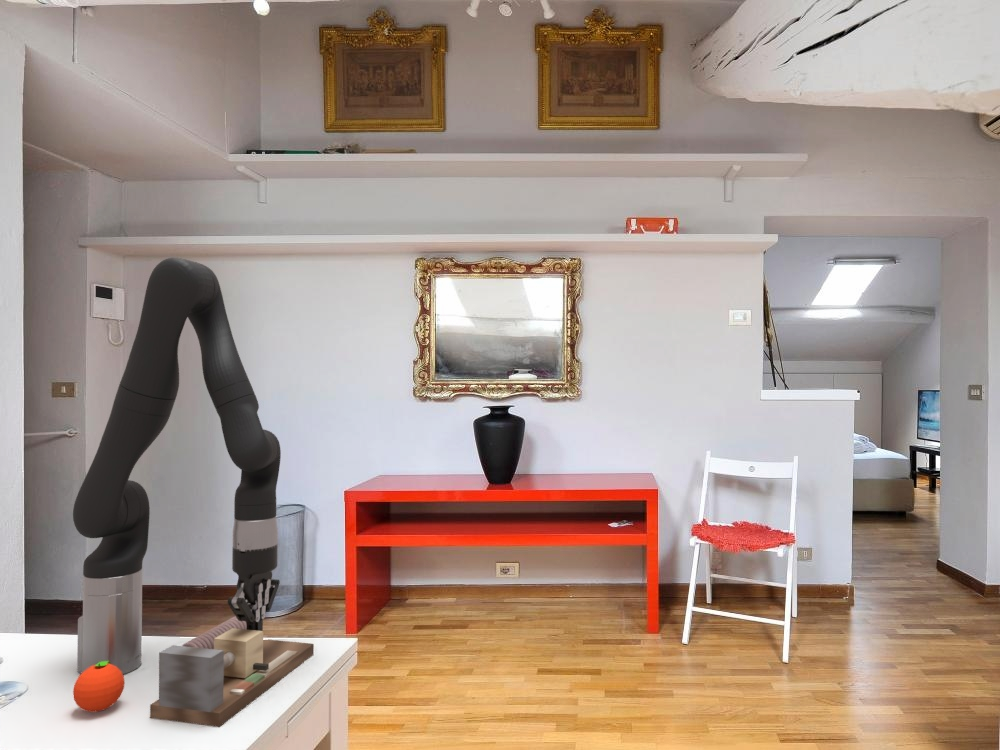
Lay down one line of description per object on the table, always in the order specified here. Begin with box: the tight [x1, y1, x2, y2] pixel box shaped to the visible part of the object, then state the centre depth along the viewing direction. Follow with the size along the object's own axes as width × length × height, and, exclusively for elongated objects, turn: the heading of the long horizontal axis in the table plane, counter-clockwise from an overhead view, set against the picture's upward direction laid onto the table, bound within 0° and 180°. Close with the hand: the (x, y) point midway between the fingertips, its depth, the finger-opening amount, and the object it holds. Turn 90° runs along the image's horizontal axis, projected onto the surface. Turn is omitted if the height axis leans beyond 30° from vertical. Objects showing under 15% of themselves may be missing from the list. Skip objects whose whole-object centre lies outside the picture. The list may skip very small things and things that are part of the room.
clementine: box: [72, 661, 125, 713], centre depth 106 cm, size 8×7×7 cm
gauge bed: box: [149, 639, 315, 728], centre depth 115 cm, size 12×28×10 cm, turn 167°
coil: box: [181, 615, 247, 649], centre depth 129 cm, size 5×5×18 cm
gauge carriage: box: [214, 628, 269, 678], centre depth 112 cm, size 8×8×6 cm
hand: (254, 641), depth 119 cm, fingers closed
